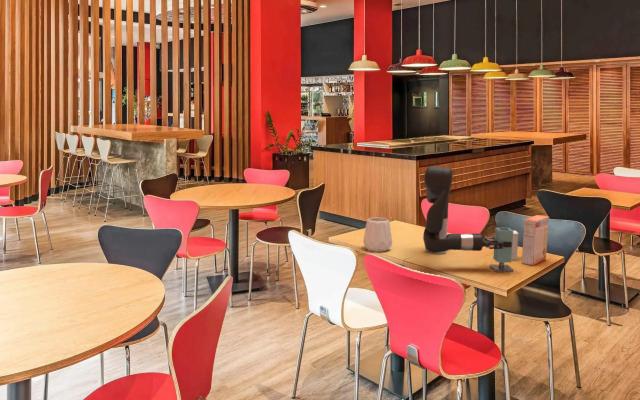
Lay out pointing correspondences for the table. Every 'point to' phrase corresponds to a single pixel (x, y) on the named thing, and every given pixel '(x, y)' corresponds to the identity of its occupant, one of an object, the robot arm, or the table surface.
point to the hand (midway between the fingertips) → (508, 242)
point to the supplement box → (514, 245)
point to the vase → (377, 235)
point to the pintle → (501, 267)
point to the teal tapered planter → (506, 252)
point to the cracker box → (535, 239)
